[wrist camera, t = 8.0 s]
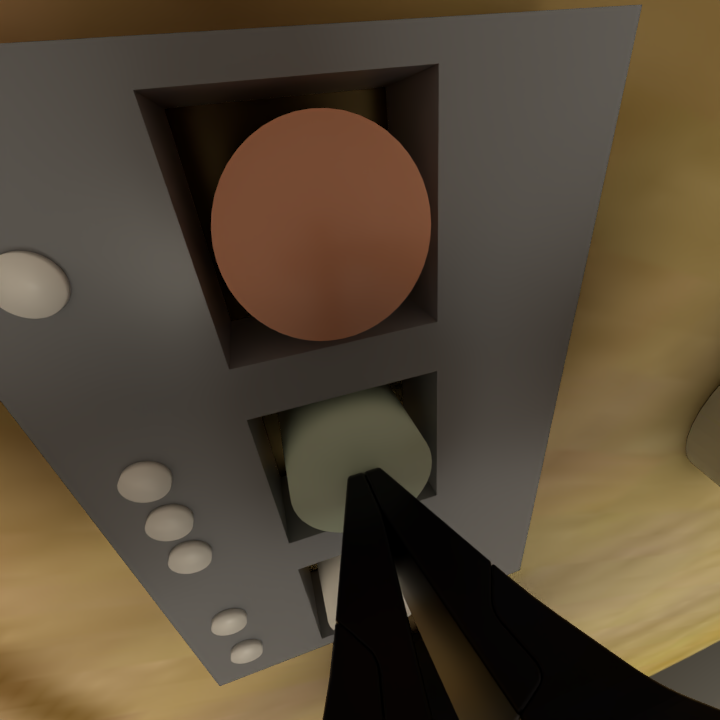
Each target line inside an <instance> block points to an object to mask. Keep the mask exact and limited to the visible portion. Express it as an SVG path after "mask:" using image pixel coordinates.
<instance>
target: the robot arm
mask: <svg viewBox="0 0 720 720" xmlns="http://www.w3.org/2000/svg"><path fill="white" fill-rule="evenodd" d="M402 594H403V595H402ZM403 596H404V599H405V601H406V603H407V605H408V607H409V610H410V612H411V614H412V616H413V618H414V621H415V623H416V625H417V627H418V630H419V632H418V633H416V634H413V635H412V632H411V628H410V624H409V620H408V616H407V612H406V608H405V604H404V600H403ZM323 720H720V709H717V708H715V707H712V706H710V705H707V704H705V703H702V702H700V701H697V700H695V699H692V698H689V697H687V696H685V695H682V694H680V693H678V692H676V691H674V690H672V689H669V688H668V687H666V686H664V685H662V684H660V683H658V682H656V681H655V680H653V679H651V678H650V677H648V676H646V675H645V674H643V673H641V672H640V671H638V670H637V669H635V668H634V667H632V666H631V665H629V664H628V663H626V662H625V661H624V660H622V659H621V658H619V657H618V656H617V655H615V654H614V653H612V652H611V651H609V650H608V649H607V648H605V647H604V646H602V645H601V644H599V643H598V642H597V641H595V640H594V639H592V638H591V637H589V636H588V635H587V634H585V633H584V632H582V631H581V630H579V629H578V628H577V627H575V626H574V625H572V624H571V623H569V622H568V621H567V620H565V619H564V618H562V617H561V616H559V615H558V614H557V613H555V612H554V611H553V610H551V609H550V608H548V607H547V606H546V605H544V604H543V603H542V602H540V601H539V600H538V599H536V598H535V597H533V596H532V595H531V594H530V593H528V592H527V591H526V590H525V589H523V588H522V587H521V586H520V585H518V584H517V583H516V582H515V581H514V580H512V579H511V578H510V577H509V576H507V575H506V574H505V573H504V572H503V571H502V570H500V569H499V568H498V567H497V566H496V565H494V564H492V566H491V561H490V560H488V559H487V558H486V557H485V556H484V555H483V554H481V553H480V552H479V551H478V550H477V549H476V548H474V547H473V546H472V545H471V544H470V543H468V542H467V541H466V540H465V539H464V538H463V537H461V536H460V535H459V534H458V533H457V532H456V531H454V530H453V529H452V528H451V527H450V526H448V525H447V524H446V523H445V522H444V521H443V520H441V519H440V518H439V517H438V516H437V515H436V514H434V513H433V512H432V511H431V510H430V509H429V508H427V507H426V506H425V505H424V504H423V503H421V502H420V501H419V500H418V499H417V498H416V497H414V496H413V495H412V494H411V493H410V492H409V491H407V490H406V489H405V488H404V487H403V486H401V485H400V484H399V483H398V482H397V481H396V480H394V479H393V478H392V477H391V476H390V475H389V474H387V473H386V472H385V471H384V470H383V469H381V468H374V469H371V470H368V471H366V472H365V473H358V474H355V475H351V476H349V477H348V479H347V489H346V501H345V513H344V525H343V537H342V549H341V561H340V573H339V585H338V597H337V608H336V624H335V630H334V642H333V652H332V660H331V669H330V678H329V684H328V690H327V696H326V702H325V709H324V715H323Z"/></svg>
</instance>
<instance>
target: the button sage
mask: <svg viewBox="0 0 720 720" xmlns="http://www.w3.org/2000/svg"><path fill="white" fill-rule="evenodd" d="M278 420H279V427H280V433H281V440H282V446H283V453H284V459H285V466H286V473H287V479H288V486H289V492H290V499H291V504H292V506H293V509H294V511H295V512H296V514H297V515H298V517H299V518H300V519H301V520H302V521H304V522H305V523H306V524H308V525H310V526H312V527H314V528H316V529H319V530H322V531H328V532H337V533H341V532H343V525H344V513H345V501H346V489H347V479H348V477H349V476H351V475H355V474H358V473H365V472H366V471H368V470H371V469H374V468H381V469H383V470H384V471H385V472H386V473H387V474H389V475H390V476H391V477H392V478H393V479H394V480H396V481H397V482H398V483H399V484H400V485H401V486H403V487H404V488H405V489H406V490H407V491H409V492H410V493H411V494H412V495H413V496H414V497H416V498H417V496H418V495H419V494H420V493H421V491H422V490H423V488H424V486H425V485H426V483H427V481H428V478H429V476H430V472H431V467H432V457H431V452H430V449H429V447H428V445H427V443H426V441H425V440H424V438H423V437H422V435H421V433H420V432H419V430H418V429H417V427H416V426H415V424H414V423H413V421H412V420H411V418H410V417H409V415H408V413H407V412H406V410H405V409H404V407H403V406H402V404H401V403H400V401H399V400H398V398H397V397H396V395H395V393H394V392H393V390H392V389H391V387H390V386H389V384H385V385H381V386H377V387H373V388H369V389H366V390H362V391H358V392H354V393H350V394H346V395H342V396H338V397H335V398H331V399H327V400H323V401H319V402H315V403H311V404H307V405H304V406H300V407H296V408H292V409H288V410H284V411H280V412H278Z"/></svg>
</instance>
